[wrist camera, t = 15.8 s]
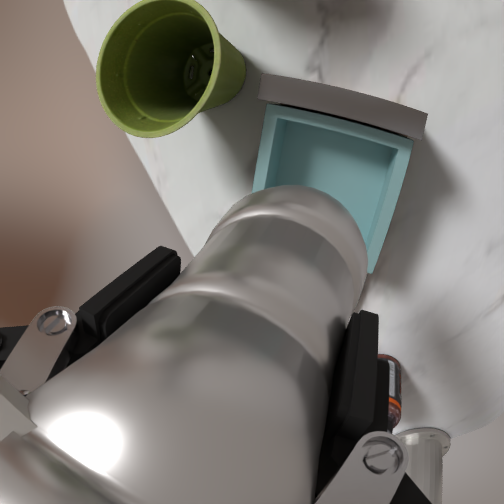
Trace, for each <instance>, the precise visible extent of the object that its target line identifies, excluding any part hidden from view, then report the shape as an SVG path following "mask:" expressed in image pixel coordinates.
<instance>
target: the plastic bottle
mask: <svg viewBox="0 0 504 504" xmlns="http://www.w3.org/2000/svg"><path fill="white" fill-rule="evenodd" d="M367 269H368V256H367V249H366V245H365V242H364V239H363V237H362V234H361V232H360V229H359V227H358V225H357V222H356V221H355V219H354V218H353V216H352V215H351V213H350V212H349V211H348V210H347V209H346V208H345V207H344V206H343V205H342V204H341V203H340V202H339V201H338V200H336V199H335V198H333V197H332V196H330V195H329V194H327V193H325V192H323V191H320V190H318V189H315V188H313V187H307V186H302V185H281V186H276V187H272V188H267V189H263V190H260V191H257V192H255V193H252V194H250V195H248V196H246V197H244V198H243V199H241V200H240V201H238V202H237V203H236V204H234V205H233V206H232V207H231V208H230V209H229V210H228V212H227V213H226V214H225V215H224V216H223V217H222V219H221V220H220V221H219V223H218V224H217V225H216V226H215V228H214V229H213V231H212V232H211V234H210V236H209V238H208V240H207V241H206V243H205V245H204V247H203V248H202V249H201V250H200V252H199V253H198V254H197V255H196V256H195V257H194V259H193V260H192V261H191V262H190V263H189V264H188V266H187V267H186V268H185V269H184V270H183V271H182V272H181V274H180V275H179V276H178V277H177V278H176V280H175V281H174V282H173V283H172V284H171V285H170V286H169V287H168V288H166V289H165V290H164V291H163V292H161V293H160V294H159V295H158V296H157V297H155V298H154V299H153V300H152V301H151V302H150V303H149V304H148V305H147V306H146V307H145V308H143V309H142V310H140V311H139V312H137V313H136V314H135V315H134V316H133V317H131V318H130V319H129V320H128V321H127V322H126V323H124V324H123V325H122V326H121V327H120V328H118V329H117V330H116V331H115V332H114V333H113V334H111V335H110V336H109V337H108V338H107V339H106V340H104V341H103V342H102V343H101V344H100V345H99V346H97V347H96V348H95V349H93V350H92V351H90V352H89V353H87V354H86V355H84V356H83V357H81V358H80V359H79V360H77V361H76V362H74V363H73V364H71V365H70V366H68V367H67V368H66V369H64V370H63V371H61V372H60V373H58V374H57V375H56V376H54V377H53V378H51V379H50V380H48V381H47V382H45V383H44V384H43V385H41V386H40V387H38V388H37V389H35V390H34V391H33V392H31V393H30V394H28V395H27V396H25V397H26V398H27V399H28V400H29V403H28V412H29V416H30V419H31V420H32V421H33V422H34V423H35V424H36V425H37V428H35V429H33V430H32V431H30V432H28V433H27V434H25V435H23V436H22V437H20V436H19V435H18V434H17V433H15V432H14V431H12V432H11V433H10V434H9V435H7V436H6V437H5V438H4V439H3V440H2V441H1V442H0V504H314V500H315V492H316V483H317V474H318V464H319V455H320V450H321V445H322V440H323V435H324V429H325V424H326V418H327V412H328V406H329V398H330V394H331V387H332V380H333V373H334V368H335V365H336V362H337V359H338V356H339V353H340V350H341V346H342V343H343V339H344V335H345V331H346V328H347V325H348V323H349V319H350V317H351V315H352V314H353V312H354V310H355V308H356V306H357V304H358V301H359V298H360V295H361V292H362V289H363V286H364V283H365V280H366V276H367Z"/></svg>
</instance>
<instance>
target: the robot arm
mask: <svg viewBox="0 0 504 504" xmlns="http://www.w3.org/2000/svg"><path fill="white" fill-rule="evenodd" d="M180 268H181V259H180V257H179V256H177V252H176V251H175V250H172V249H169V248H166V247H163V246H159V247H158V248H156V249H155V250H153V251H152V252H151V253H149V254H148V255H147V256H145V257H144V258H143V259H141V260H140V261H139V262H137V263H136V264H135V265H133V266H132V267H131V268H129V269H128V270H127V271H125V272H124V273H123V274H121V275H120V276H119V277H117V278H116V279H115V280H114V281H113V282H111V283H110V284H108V285H107V286H106V287H104V288H103V289H102V290H101V291H99V292H98V293H97V294H96V295H94V296H93V297H92V298H90V299H89V300H88V301H87V302H85V303H84V304H83V305H82V306H80V307H79V311H78V312H77V313H76V314H74V312H73V311H71V310H70V309H68V308H65V307H60V306H56V307H50V308H47V309H44V310H43V311H41V312H39V314H37V316H36V317H35V318H34V319H33V321H32V322H31V323H30V325H28V326H16V327H3V328H0V442H1V441H2V440H3V439H4V438H5V437H6V436H7V435H9V434H10V433H11V432H12V431H14V432H15V433H17V434H18V435H19V436H20V437H22V436H23V435H25V434H27V433H28V432H30V431H32V430H33V429H35V428H37V425H36V424H35V423H34V422H33V421H32V420H31V419H30V416H29V412H28V403H29V400H28V399H27V398H26V397H25V396H27V395H28V394H30V393H31V392H33V391H34V390H35V389H37V388H38V387H40V386H41V385H43V384H44V383H45V382H47V381H48V380H50V379H51V378H53V377H54V376H56V375H57V374H58V373H60V372H61V371H63V370H64V369H66V368H67V367H68V366H70V365H71V364H73V363H74V362H76V361H77V360H79V359H80V358H81V357H83V356H84V355H86V354H87V353H89V352H90V351H92V350H93V349H95V348H96V347H97V346H99V345H100V344H101V343H102V342H103V341H104V340H106V339H107V338H108V337H109V336H110V335H111V334H113V333H114V332H115V331H116V330H117V329H118V328H120V327H121V326H122V325H123V324H124V323H126V322H127V321H128V320H129V319H130V318H131V317H133V316H134V315H135V314H136V313H137V312H139V311H140V310H142V309H143V308H145V307H146V306H147V305H148V304H149V303H150V302H151V301H152V300H153V299H154V298H155V297H157V296H158V295H159V294H160V293H161V292H163V291H164V290H165V289H166V288H168V287H169V286H170V285H171V284H172V283H173V282H174V281H175V280H176V278H177V277H178V276H179V275H180ZM378 325H379V317H378V314H374V313H371V312H368V311H364V310H361V311H360V312H359V314H358V313H353V314H352V316H351V318H350V321H349V323H348V325H347V328H346V331H345V335H344V339H343V343H342V346H341V350H340V353H339V356H338V359H337V362H336V365H335V368H334V373H333V380H332V387H331V394H330V398H329V406H328V412H327V418H326V424H325V429H324V435H323V440H322V445H321V450H320V455H319V464H318V474H317V483H316V492H315V500H314V504H442V456H444V455H445V454H446V453H447V451H448V450H449V448H450V438H449V436H448V434H446V433H445V432H443V431H441V430H438V429H433V428H419V429H412V430H408V431H404V432H401V433H399V434H397V435H393V434H390V433H388V432H387V428H388V412H389V388H390V364H389V362H388V361H384V360H381V359H378Z"/></svg>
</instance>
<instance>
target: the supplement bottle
mask: <svg viewBox="0 0 504 504" xmlns="http://www.w3.org/2000/svg"><path fill="white" fill-rule="evenodd" d="M378 359H381V360H384V361H388V362H389V364H390V388H389V412H388V428H387V432H388V433H390V434H392V431H393V428H394V427H395V426H396V425H397V424H398V423H399V421H400V418H401V370H400V365H399V363H398V361H397V360H396V359H394V358H393V357H391V356H388V355H384V354H378Z"/></svg>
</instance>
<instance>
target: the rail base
mask: <svg viewBox="0 0 504 504" xmlns="http://www.w3.org/2000/svg"><path fill="white" fill-rule="evenodd" d="M257 99H261V100H267V101H273V102H278V103H280V104H281V105H287V106H292V107H297V108H302V109H307V110H311V111H316V112H320V113H324V114H329V115H333V116H337V117H341V118H345V119H349V120H352V121H356V122H360V123H363V124H367V125H370V126H374V127H377V128H381V129H384V130H387V131H390V132H393V133H397V134H400V135H403V136H406V137H407V136H410V137H413V138H416V139H419V140H422V137H423V133H424V129H425V124H426V120H427V116H428V114H427V113H424V112H422V111H419V110H416V109H413V108H410V107H407V106H404V105H401V104H398V103H394V102H391V101H388V100H385V99H381V98H378V97H374V96H371V95H367V94H363V93H359V92H355V91H352V90H348V89H343V88H339V87H335V86H330V85H326V84H321V83H316V82H311V81H306V80H301V79H295V78H290V77H284V76H277V75H271V74H264V73H262V74H261V80H260V86H259V92H258V98H257Z"/></svg>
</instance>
